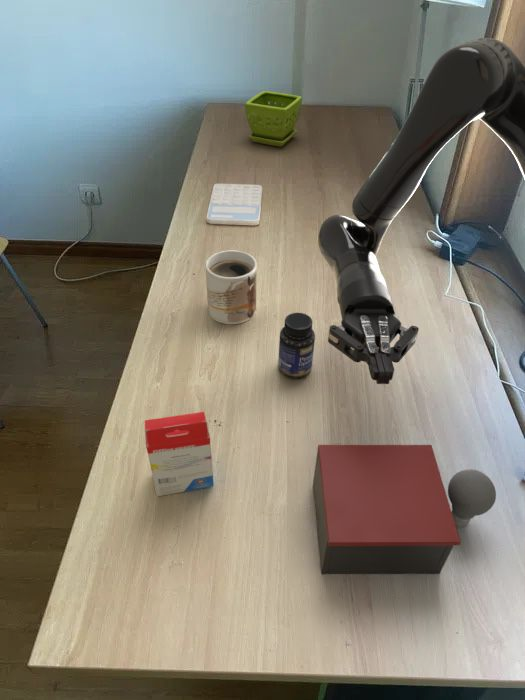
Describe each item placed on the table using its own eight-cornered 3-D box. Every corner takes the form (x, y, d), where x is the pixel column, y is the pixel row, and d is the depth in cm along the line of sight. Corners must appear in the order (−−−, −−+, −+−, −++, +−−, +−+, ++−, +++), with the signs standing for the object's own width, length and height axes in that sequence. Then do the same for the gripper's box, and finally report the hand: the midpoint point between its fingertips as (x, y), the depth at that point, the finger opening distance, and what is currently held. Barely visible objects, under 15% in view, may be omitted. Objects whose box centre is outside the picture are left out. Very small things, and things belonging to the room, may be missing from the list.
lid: (458, 545, 67) (460, 542, 66) (328, 546, 67) (329, 542, 66) (430, 448, 78) (431, 444, 77) (317, 448, 77) (318, 444, 77)
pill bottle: (302, 384, 99) (306, 337, 91) (271, 372, 101) (273, 324, 94) (317, 364, 103) (322, 316, 96) (287, 352, 105) (290, 305, 98)
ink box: (209, 461, 86) (204, 395, 76) (214, 488, 83) (209, 422, 73) (153, 470, 85) (141, 404, 75) (155, 498, 81) (143, 432, 71)
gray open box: (440, 573, 74) (456, 539, 68) (321, 574, 73) (327, 539, 67) (417, 485, 84) (430, 448, 78) (312, 485, 83) (317, 448, 77)
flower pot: (300, 136, 184) (303, 95, 175) (284, 152, 174) (286, 109, 166) (261, 129, 188) (262, 88, 179) (243, 143, 178) (243, 102, 170)
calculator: (262, 190, 154) (262, 183, 153) (259, 226, 139) (259, 219, 138) (214, 188, 155) (213, 181, 153) (205, 224, 140) (205, 217, 138)
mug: (198, 301, 116) (195, 255, 109) (249, 285, 121) (249, 240, 113) (221, 330, 109) (219, 283, 102) (274, 312, 114) (276, 266, 107)
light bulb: (478, 506, 81) (499, 464, 74) (481, 544, 77) (504, 502, 70) (436, 498, 82) (452, 456, 75) (437, 535, 78) (455, 493, 71)
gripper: (322, 276, 82) (335, 357, 69) (412, 277, 82) (442, 358, 69) (317, 317, 87) (329, 399, 74) (402, 317, 87) (429, 399, 74)
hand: (384, 379), depth 72 cm, fingers closed
